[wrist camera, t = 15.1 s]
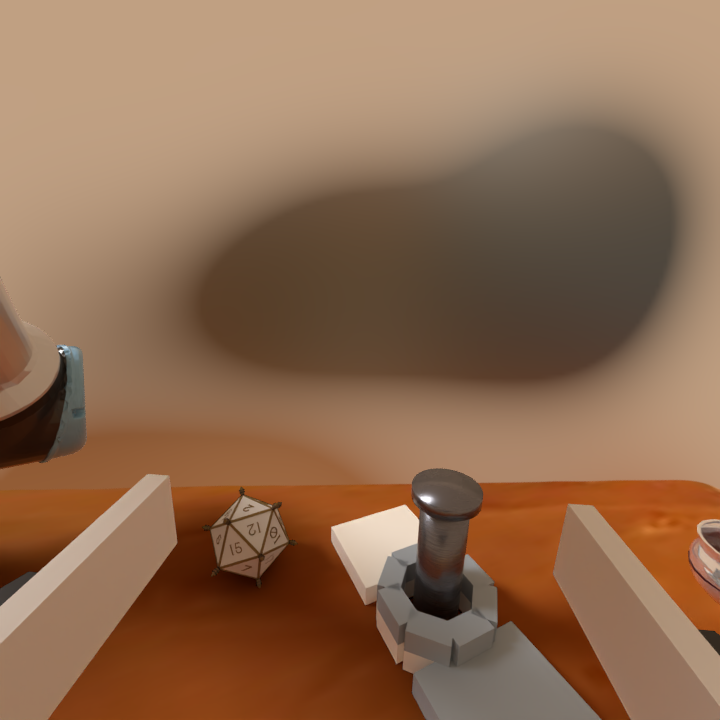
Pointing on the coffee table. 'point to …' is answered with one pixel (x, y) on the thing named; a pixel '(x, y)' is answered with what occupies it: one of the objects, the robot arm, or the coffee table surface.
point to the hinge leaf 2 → (473, 654)
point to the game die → (248, 537)
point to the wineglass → (707, 557)
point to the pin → (442, 538)
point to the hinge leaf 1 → (381, 565)
